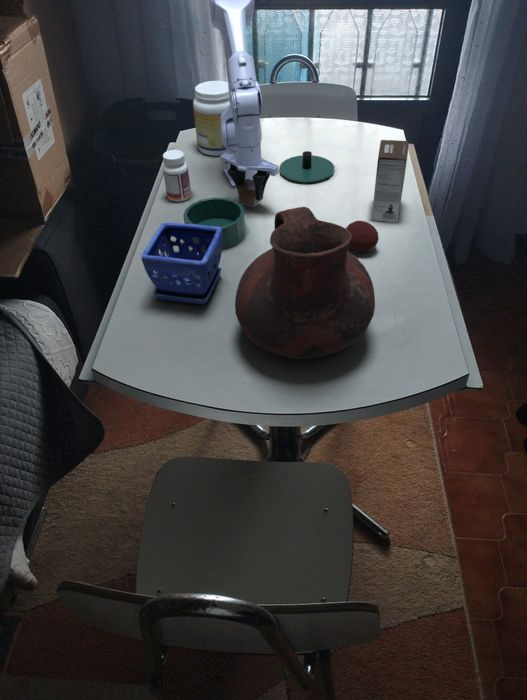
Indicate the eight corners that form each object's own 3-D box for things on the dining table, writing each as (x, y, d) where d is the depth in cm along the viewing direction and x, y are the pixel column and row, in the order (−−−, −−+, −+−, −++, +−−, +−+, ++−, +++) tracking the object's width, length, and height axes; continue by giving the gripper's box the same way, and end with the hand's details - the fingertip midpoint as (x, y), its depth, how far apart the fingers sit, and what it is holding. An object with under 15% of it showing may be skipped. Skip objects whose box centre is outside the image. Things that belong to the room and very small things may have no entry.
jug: (359, 289, 122) (370, 176, 105) (381, 377, 104) (399, 258, 87) (237, 294, 122) (228, 182, 105) (237, 384, 104) (227, 266, 87)
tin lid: (272, 163, 164) (272, 145, 160) (322, 155, 166) (323, 137, 163) (289, 188, 154) (289, 169, 150) (342, 179, 156) (343, 160, 153)
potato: (348, 260, 130) (350, 236, 126) (337, 240, 136) (339, 216, 131) (381, 255, 131) (384, 232, 126) (368, 235, 137) (371, 212, 132)
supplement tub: (227, 160, 166) (222, 98, 154) (189, 152, 170) (182, 91, 158) (247, 142, 174) (244, 82, 162) (211, 135, 178) (205, 76, 166)
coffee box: (373, 201, 148) (380, 138, 136) (400, 203, 146) (409, 140, 135) (370, 221, 141) (377, 156, 130) (398, 223, 140) (407, 158, 129)
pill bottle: (187, 188, 155) (182, 146, 147) (194, 199, 151) (189, 157, 143) (164, 193, 154) (158, 151, 146) (170, 204, 149) (163, 161, 142)
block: (238, 203, 146) (237, 186, 143) (247, 194, 148) (246, 178, 145) (254, 207, 144) (253, 190, 141) (263, 198, 147) (262, 182, 144)
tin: (181, 223, 143) (178, 203, 139) (237, 214, 145) (235, 193, 141) (193, 254, 133) (190, 233, 129) (251, 243, 135) (250, 222, 132)
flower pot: (147, 305, 120) (137, 256, 112) (169, 267, 130) (161, 219, 122) (211, 313, 118) (205, 263, 110) (228, 274, 127) (224, 225, 119)
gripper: (211, 143, 136) (216, 197, 146) (267, 155, 131) (269, 210, 140) (227, 131, 141) (231, 184, 150) (282, 143, 135) (283, 197, 145)
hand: (250, 196), depth 145 cm, fingers closed on block, 4 cm apart
